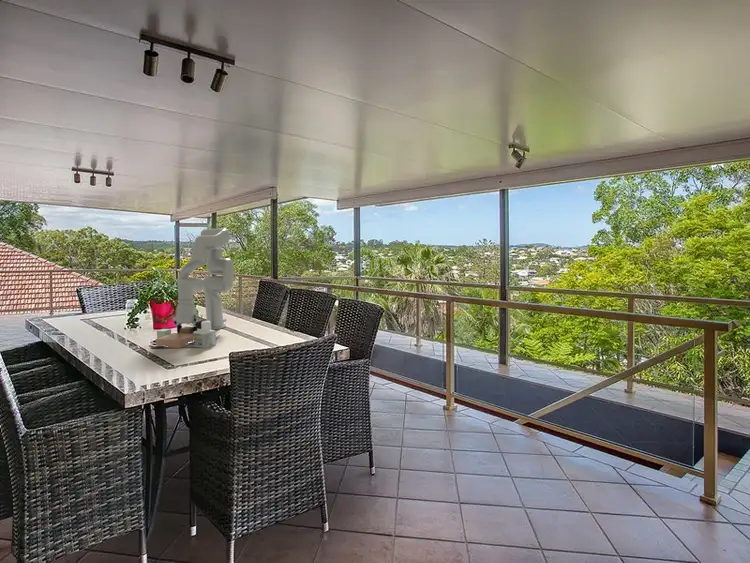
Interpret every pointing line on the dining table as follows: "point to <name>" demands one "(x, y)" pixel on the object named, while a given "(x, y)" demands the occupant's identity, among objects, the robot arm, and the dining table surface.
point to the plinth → (175, 340)
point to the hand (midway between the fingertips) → (187, 333)
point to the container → (204, 335)
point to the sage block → (163, 332)
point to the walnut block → (187, 330)
